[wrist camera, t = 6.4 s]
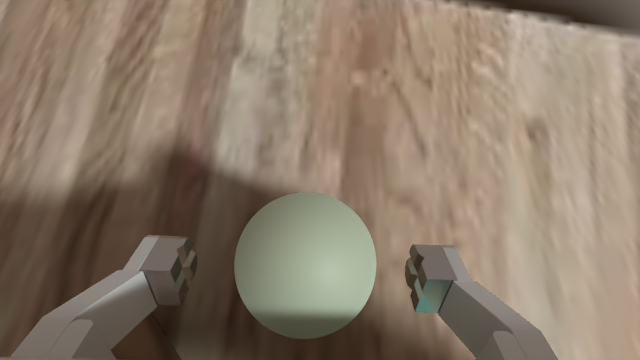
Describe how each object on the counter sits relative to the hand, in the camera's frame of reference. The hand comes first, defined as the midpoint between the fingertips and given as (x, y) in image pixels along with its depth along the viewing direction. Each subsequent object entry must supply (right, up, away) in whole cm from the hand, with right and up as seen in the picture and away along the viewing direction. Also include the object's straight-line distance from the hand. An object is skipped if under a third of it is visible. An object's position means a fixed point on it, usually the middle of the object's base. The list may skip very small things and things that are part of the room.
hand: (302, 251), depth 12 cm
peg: (0, -2, +7) cm, 7 cm away
